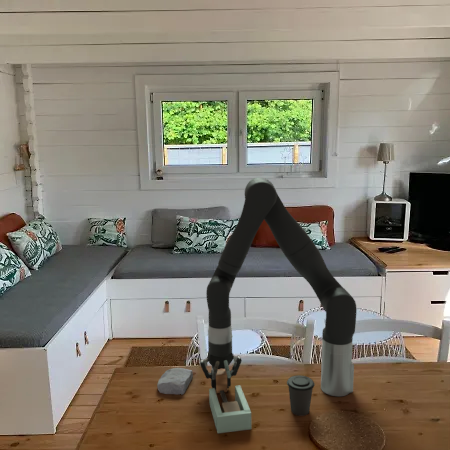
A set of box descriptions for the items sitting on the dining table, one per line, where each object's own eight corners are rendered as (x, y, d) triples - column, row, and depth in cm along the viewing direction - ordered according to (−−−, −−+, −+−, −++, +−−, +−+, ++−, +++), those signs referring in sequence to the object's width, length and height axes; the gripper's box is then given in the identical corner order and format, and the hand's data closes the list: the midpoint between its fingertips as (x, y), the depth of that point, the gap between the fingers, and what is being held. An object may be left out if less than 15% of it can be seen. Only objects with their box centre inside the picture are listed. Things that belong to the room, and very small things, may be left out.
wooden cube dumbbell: (226, 386, 155) (226, 369, 154) (240, 425, 135) (240, 406, 133) (213, 387, 154) (212, 370, 153) (225, 427, 134) (224, 407, 133)
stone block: (156, 398, 152) (186, 395, 150) (153, 384, 151) (182, 381, 149) (167, 380, 163) (195, 378, 161) (164, 367, 163) (192, 364, 161)
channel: (240, 400, 147) (240, 385, 146) (251, 429, 133) (251, 412, 132) (209, 403, 145) (209, 388, 144) (217, 433, 131) (217, 417, 130)
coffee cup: (315, 405, 144) (316, 375, 142) (311, 420, 136) (312, 389, 134) (289, 400, 146) (289, 370, 144) (283, 415, 139) (284, 384, 137)
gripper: (239, 331, 154) (240, 379, 158) (196, 335, 152) (197, 384, 155) (244, 341, 147) (245, 391, 150) (199, 345, 145) (200, 396, 148)
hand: (220, 387), depth 153 cm, fingers closed on wooden cube dumbbell, 3 cm apart
